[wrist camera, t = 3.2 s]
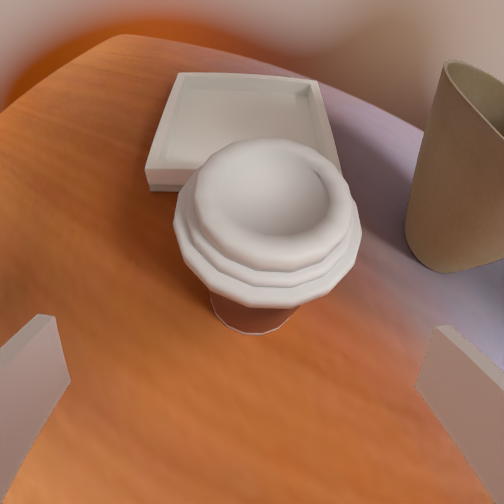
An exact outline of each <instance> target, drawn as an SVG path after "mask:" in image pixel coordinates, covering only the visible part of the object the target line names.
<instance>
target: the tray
mask: <svg viewBox="0 0 504 504" xmlns="http://www.w3.org/2000/svg"><path fill="white" fill-rule="evenodd" d="M257 137H268V138H280V139H288V140H291V141H293V142H296V143H299V144H302V145H304V146H307V147H310V148H312V149H313V150H315V151H316V152H318V153H319V154H320V155H322V156H323V157H325V158H326V159H327V160H329V161H330V162H331V163H333V164H334V165H335V167H336V168H337V170H338V171H339V172H340V174H341V175H342V170H341V166H340V162H339V158H338V154H337V150H336V146H335V142H334V138H333V134H332V131H331V127H330V123H329V120H328V116H327V112H326V109H325V106H324V102H323V99H322V95H321V92H320V89H319V86H318V82H317V81H313V80H306V79H298V78H289V77H280V76H269V75H256V74H239V73H203V72H195V73H178V76H177V78H176V81H175V83H174V86H173V88H172V91H171V93H170V96H169V98H168V101H167V104H166V106H165V109H164V112H163V114H162V117H161V120H160V123H159V126H158V129H157V131H156V134H155V137H154V140H153V143H152V146H151V149H150V152H149V156H148V159H147V162H146V165H145V168H144V169H145V173H146V177H147V181H148V185H149V189H150V191H169V192H180V190H181V189H182V188H183V186H184V185H185V184H186V182H187V181H188V180H189V178H190V177H191V176H192V174H193V173H194V172H195V171H196V169H197V168H199V167H200V166H202V165H204V163H205V162H206V161H207V159H208V158H209V157H210V156H211V155H212V154H213V153H215V152H217V151H219V150H220V149H222V148H224V147H226V146H227V145H229V144H231V143H233V142H237V141H242V140H247V139H252V138H257ZM342 177H343V175H342Z"/></svg>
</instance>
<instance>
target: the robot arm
mask: <svg viewBox="0 0 504 504" xmlns="http://www.w3.org/2000/svg"><path fill="white" fill-rule="evenodd" d="M70 383H71V379H70V376H69V372H68V369H67V365H66V361H65V358H64V354H63V350H62V346H61V341H60V337H59V333H58V328H57V323H56V318H55V316H50V315H44V314H37V315H36V316H35V317H34V318H32V319H31V320H30V321H29V322H28V323H27V324H26V325H25V326H24V327H22V328H21V329H20V330H19V331H18V332H17V333H16V334H15V335H14V336H13V337H12V338H11V339H9V340H8V341H7V342H6V343H5V344H4V345H3V346H2V347H1V348H0V504H1V503H2V501H3V499H4V497H5V495H6V493H7V491H8V489H9V487H10V485H11V484H12V482H13V480H14V478H15V476H16V474H17V472H18V470H19V468H20V467H21V465H22V463H23V461H24V459H25V457H26V456H27V454H28V452H29V450H30V449H31V447H32V445H33V443H34V442H35V440H36V438H37V436H38V435H39V433H40V431H41V429H42V428H43V426H44V424H45V423H46V421H47V419H48V418H49V416H50V414H51V413H52V411H53V410H54V408H55V406H56V405H57V403H58V401H59V400H60V398H61V397H62V395H63V393H64V392H65V390H66V389H67V387H68V386H69V384H70ZM414 387H415V389H416V390H417V391H418V393H419V394H420V395H421V397H422V398H423V400H424V401H425V402H426V404H427V405H428V406H429V408H430V409H431V411H432V412H433V413H434V415H435V416H436V417H437V419H438V420H439V422H440V423H441V424H442V426H443V427H444V429H445V430H446V431H447V433H448V434H449V436H450V437H451V439H452V440H453V441H454V443H455V444H456V446H457V447H458V449H459V450H460V452H461V453H462V454H463V456H464V457H465V459H466V460H467V462H468V463H469V465H470V466H471V468H472V469H473V471H474V472H475V474H476V475H477V477H478V478H479V480H480V481H481V483H482V484H483V486H484V487H485V489H486V490H487V492H488V494H489V495H490V497H491V498H492V500H493V501H494V503H495V504H504V372H503V371H502V370H501V369H500V368H499V367H498V366H497V365H496V364H495V363H493V362H492V361H491V360H490V359H489V358H488V357H487V356H486V355H485V354H483V353H482V352H481V351H480V350H479V349H478V348H477V347H475V346H474V345H473V344H472V343H471V342H470V341H468V340H467V339H466V338H465V337H464V336H463V335H461V334H460V333H459V332H458V331H457V330H456V329H454V328H453V327H452V326H451V325H441V326H435V327H434V330H433V334H432V337H431V340H430V343H429V346H428V349H427V352H426V355H425V358H424V361H423V364H422V367H421V370H420V372H419V375H418V378H417V380H416V383H415V386H414Z"/></svg>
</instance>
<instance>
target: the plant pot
mask: <svg viewBox="0 0 504 504" xmlns="http://www.w3.org/2000/svg"><path fill="white" fill-rule="evenodd" d="M404 228H405V236H406V240H407V242H408V245H409V247H410V249H411V250H412V252H413V254H414V255H415V256H416V257H417V259H418V260H419V261H420V262H421V263H423V264H424V265H425V266H426V267H428V268H429V269H431V270H433V271H436V272H439V273H452V272H458V271H462V270H467V269H471V268H475V267H478V266H482V265H485V264H488V263H491V262H494V261H497V260H500V259H503V258H504V82H502V81H501V80H499V79H498V78H496V77H494V76H493V75H491V74H489V73H488V72H486V71H484V70H482V69H480V68H478V67H475V66H473V65H471V64H468V63H465V62H462V61H457V60H448V61H446V62H445V63H444V65H443V69H442V72H441V76H440V80H439V83H438V87H437V90H436V94H435V97H434V101H433V104H432V107H431V110H430V114H429V117H428V121H427V125H426V128H425V132H424V136H423V139H422V143H421V147H420V151H419V155H418V159H417V164H416V168H415V172H414V177H413V182H412V186H411V191H410V196H409V202H408V207H407V213H406V220H405V227H404Z"/></svg>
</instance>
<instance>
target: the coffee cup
mask: <svg viewBox="0 0 504 504" xmlns="http://www.w3.org/2000/svg"><path fill="white" fill-rule="evenodd" d="M173 227H174V231H175V235H176V238H177V241H178V244H179V247H180V251H181V254H182V257H183V260H184V263H185V264H186V265H187V266H188V267H189V268H190V269H191V271H192V272H193V273H194V274H195V275H196V276H197V277H198V278H199V279H200V280H201V281H202V282H203V283H204V284H205V285H206V287H207V290H208V293H209V296H210V301H211V304H212V306H213V309H214V312H215V314H216V316H217V317H218V318H219V319H220V320H221V321H222V322H223V323H224V324H225V326H226V327H227V328H229V329H231V330H234V331H236V332H238V333H241V334H243V335H261V336H262V335H264V334H267V333H270V332H272V331H275V330H278V329H279V328H280V327H281V326H282V325H283V324H284V323H285V322H286V321H287V320H288V319H289V318H290V316H291V315H292V314H293V313H294V312H295V311H296V310H297V309H298V308H299V306H300V305H302V304H305V303H307V302H310V301H313V300H315V299H318V298H320V297H323V296H325V295H327V294H328V293H329V292H330V291H331V290H332V289H333V288H334V287H335V286H336V285H337V283H338V282H339V281H340V280H341V279H342V278H343V277H344V276H345V275H346V274H347V273H348V272H349V271H350V269H351V268H352V267H353V265H354V263H355V259H356V256H357V252H358V248H359V245H360V241H361V237H362V230H361V225H360V220H359V215H358V210H357V206H356V203H355V201H354V200H353V198H352V197H351V194H350V190H349V185H348V184H347V182H346V181H345V179H344V178H343V177H342V175H341V174H340V172H339V171H338V170H337V168H336V167H335V165H334V164H333V163H331V162H330V161H329V160H327V159H326V158H325V157H323V156H322V155H320V154H319V153H318V152H316V151H315V150H313V149H312V148H310V147H307V146H304V145H302V144H299V143H296V142H293V141H291V140H288V139H280V138H268V137H257V138H252V139H247V140H242V141H237V142H233V143H231V144H229V145H227V146H226V147H224V148H222V149H220V150H219V151H217V152H215V153H213V154H212V155H211V156H210V157H209V158H208V159H207V161H206V162H205V163H204V165H202V166H200V167H199V168H197V169H196V171H195V172H194V173H193V174H192V176H191V177H190V178H189V180H188V181H187V182H186V184H185V185H184V186H183V188H182V189H181V190H180V192H179V194H178V198H177V204H176V209H175V214H174V220H173Z"/></svg>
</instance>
